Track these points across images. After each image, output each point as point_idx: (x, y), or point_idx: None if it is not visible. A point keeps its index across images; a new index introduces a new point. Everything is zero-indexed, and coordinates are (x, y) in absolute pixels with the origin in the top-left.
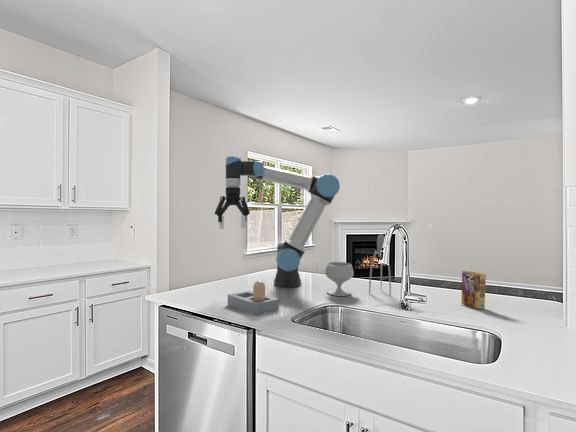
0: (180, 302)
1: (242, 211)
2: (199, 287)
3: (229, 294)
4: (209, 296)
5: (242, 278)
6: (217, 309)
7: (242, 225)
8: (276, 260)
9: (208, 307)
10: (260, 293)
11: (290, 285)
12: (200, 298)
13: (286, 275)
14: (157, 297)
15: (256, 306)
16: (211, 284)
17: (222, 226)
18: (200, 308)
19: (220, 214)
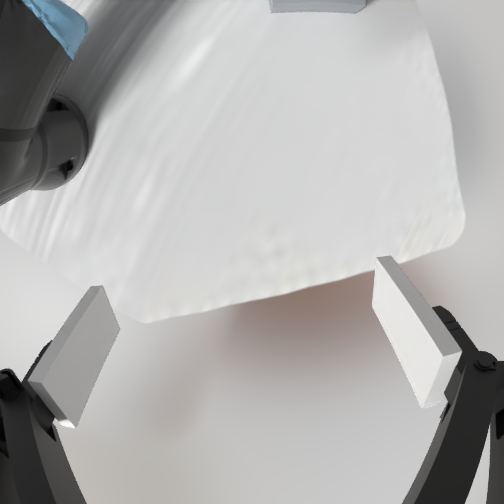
0: (442, 129)
1: (44, 447)
2: (320, 260)
3: (359, 4)
4: (355, 131)
5: (138, 299)
6: (395, 3)
7: (104, 328)
8: (71, 51)
9: (407, 33)
10: None
11: (59, 96)
12: (387, 128)
13: (46, 112)
14: (456, 217)
15: None
16: (267, 277)
17: (401, 269)
18: (426, 42)
19: (495, 362)
